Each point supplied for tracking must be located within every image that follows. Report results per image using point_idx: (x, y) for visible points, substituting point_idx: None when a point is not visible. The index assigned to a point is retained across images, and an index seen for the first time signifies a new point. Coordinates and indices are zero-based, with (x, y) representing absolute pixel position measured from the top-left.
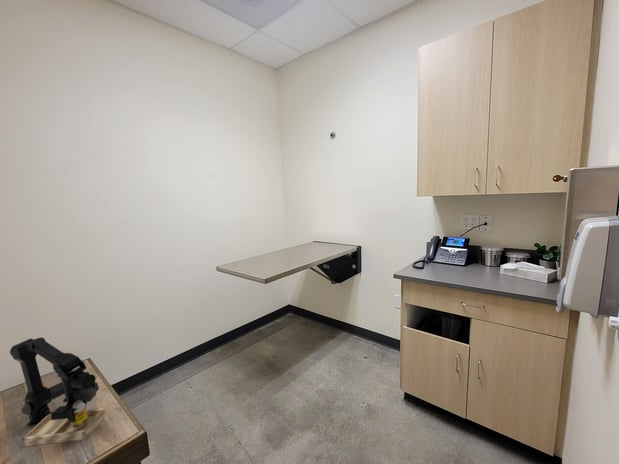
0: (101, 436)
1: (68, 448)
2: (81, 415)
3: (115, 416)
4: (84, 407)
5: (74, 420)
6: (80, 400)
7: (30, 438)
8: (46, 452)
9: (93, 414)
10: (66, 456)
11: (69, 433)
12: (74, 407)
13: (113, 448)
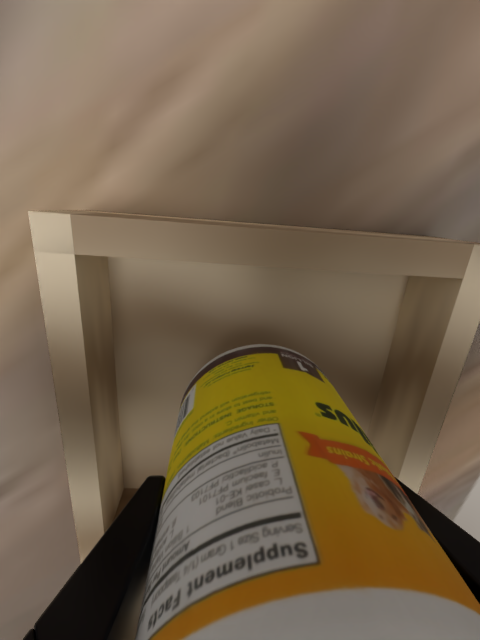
0: (461, 42)
1: (474, 338)
2: (372, 458)
3: (129, 20)
4: (332, 587)
5: (417, 497)
6: None
7: None
8: (437, 474)
9: (108, 347)
10: None
11: (437, 420)
12: None
13: None
